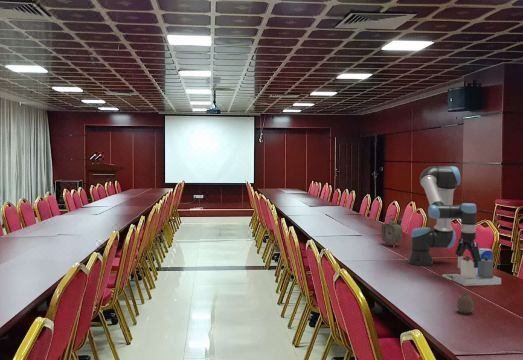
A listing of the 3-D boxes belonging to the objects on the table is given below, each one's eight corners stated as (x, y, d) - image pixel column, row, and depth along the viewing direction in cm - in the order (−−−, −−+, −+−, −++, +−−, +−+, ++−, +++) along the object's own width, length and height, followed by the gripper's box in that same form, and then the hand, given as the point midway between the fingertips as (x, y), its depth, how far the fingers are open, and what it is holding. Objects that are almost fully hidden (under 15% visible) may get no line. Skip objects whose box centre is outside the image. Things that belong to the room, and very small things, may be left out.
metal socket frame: (452, 281, 272) (452, 274, 272) (487, 280, 276) (487, 273, 275) (465, 287, 260) (465, 279, 260) (501, 285, 264) (501, 278, 264)
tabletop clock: (381, 245, 389) (382, 214, 388) (390, 244, 393) (391, 213, 392) (393, 248, 376) (394, 215, 375) (403, 247, 380) (403, 215, 379)
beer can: (483, 278, 279) (483, 250, 279) (473, 275, 288) (473, 248, 287) (495, 277, 282) (496, 250, 281) (485, 274, 290) (485, 247, 289)
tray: (442, 277, 282) (442, 274, 282) (456, 277, 284) (456, 273, 283) (450, 281, 273) (450, 278, 273) (466, 280, 274) (466, 277, 274)
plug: (468, 281, 270) (469, 255, 269) (474, 283, 265) (474, 257, 264) (460, 281, 269) (460, 255, 269) (465, 283, 264) (466, 257, 264)
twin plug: (478, 281, 271) (479, 255, 270) (487, 280, 272) (487, 254, 271) (484, 283, 266) (484, 256, 265) (492, 282, 267) (493, 256, 266)
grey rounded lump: (468, 310, 221) (469, 290, 220) (476, 314, 214) (476, 294, 214) (453, 310, 221) (454, 290, 220) (460, 314, 214) (460, 295, 213)
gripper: (449, 228, 278) (448, 265, 279) (475, 235, 253) (474, 276, 254) (461, 228, 279) (460, 265, 280) (488, 235, 254) (487, 275, 255)
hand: (467, 270), depth 267 cm, fingers open, 13 cm apart
